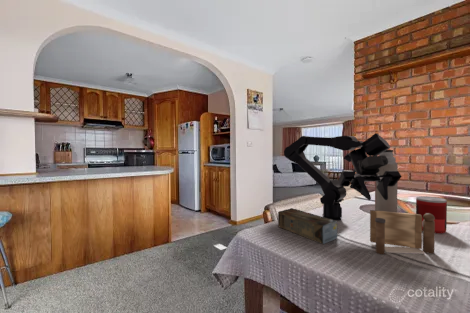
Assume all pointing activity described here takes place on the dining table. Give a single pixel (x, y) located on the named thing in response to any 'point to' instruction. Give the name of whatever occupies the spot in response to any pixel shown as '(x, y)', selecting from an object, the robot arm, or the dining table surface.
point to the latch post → (380, 235)
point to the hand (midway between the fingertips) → (378, 199)
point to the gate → (398, 228)
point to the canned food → (433, 211)
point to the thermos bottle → (391, 202)
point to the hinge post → (428, 233)
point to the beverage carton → (308, 225)
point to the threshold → (403, 250)
